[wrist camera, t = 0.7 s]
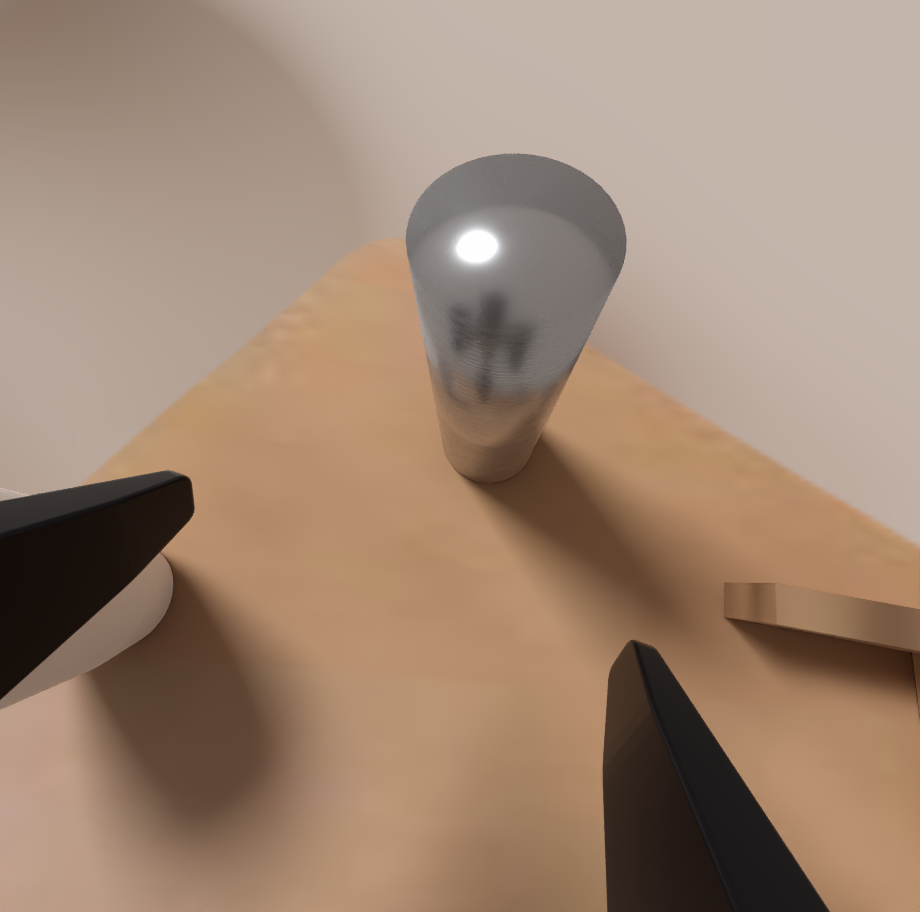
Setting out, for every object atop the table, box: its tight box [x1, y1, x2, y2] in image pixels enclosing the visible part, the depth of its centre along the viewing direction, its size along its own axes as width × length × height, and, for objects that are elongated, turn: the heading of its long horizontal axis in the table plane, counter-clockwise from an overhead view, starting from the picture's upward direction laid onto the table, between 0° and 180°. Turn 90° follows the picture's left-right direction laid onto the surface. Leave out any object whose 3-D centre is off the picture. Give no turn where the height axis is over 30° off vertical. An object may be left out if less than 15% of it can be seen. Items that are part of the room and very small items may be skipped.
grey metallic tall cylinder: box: [406, 154, 626, 483], centre depth 16 cm, size 5×5×14 cm
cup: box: [0, 488, 173, 709], centre depth 16 cm, size 8×8×10 cm
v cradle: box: [725, 583, 920, 713], centre depth 17 cm, size 8×14×4 cm, turn 35°
